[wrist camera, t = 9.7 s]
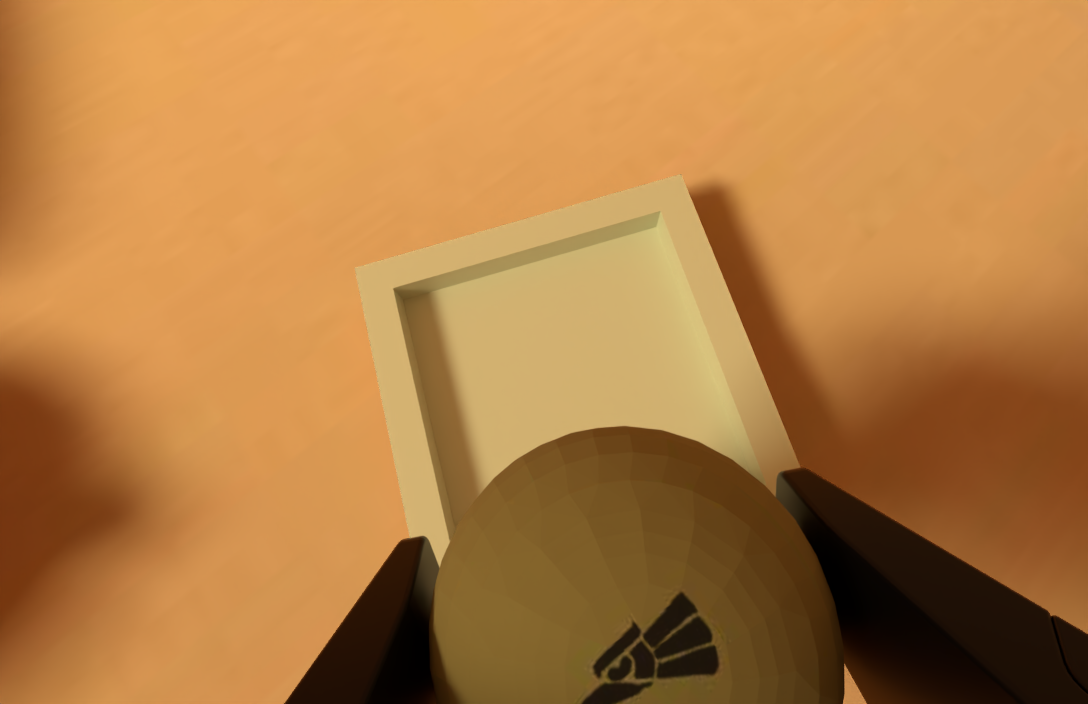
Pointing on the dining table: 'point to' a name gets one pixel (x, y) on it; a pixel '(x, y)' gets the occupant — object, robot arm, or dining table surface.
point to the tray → (561, 347)
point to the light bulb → (631, 583)
